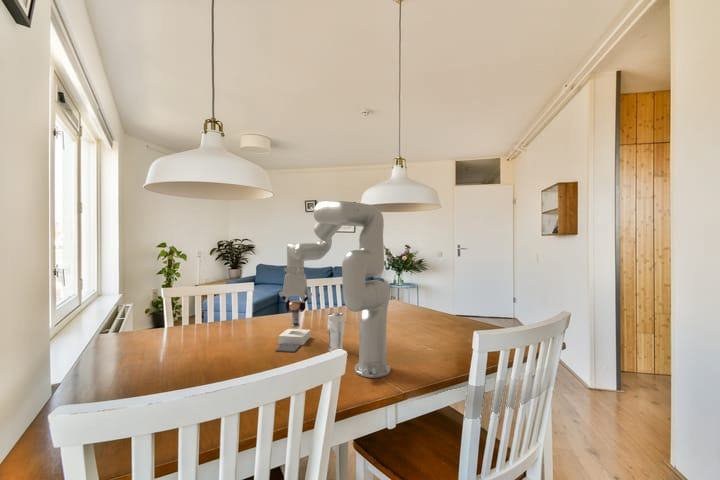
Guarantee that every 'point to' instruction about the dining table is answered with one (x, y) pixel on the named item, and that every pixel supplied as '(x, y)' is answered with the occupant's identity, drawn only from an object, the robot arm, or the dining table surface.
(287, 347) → the rubber mat
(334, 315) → the beer glass
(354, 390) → the dining table surface
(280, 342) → the eye block
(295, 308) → the copper topped tamper
